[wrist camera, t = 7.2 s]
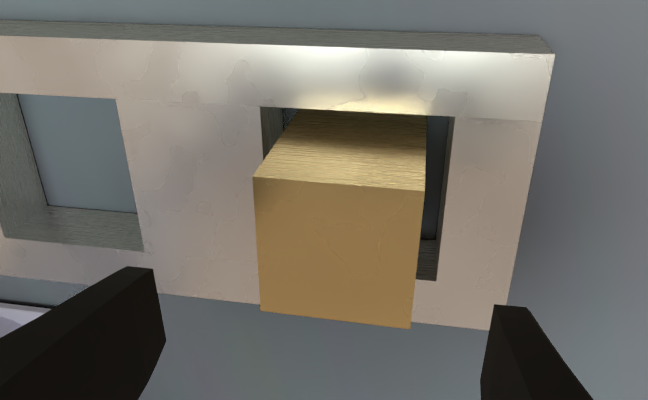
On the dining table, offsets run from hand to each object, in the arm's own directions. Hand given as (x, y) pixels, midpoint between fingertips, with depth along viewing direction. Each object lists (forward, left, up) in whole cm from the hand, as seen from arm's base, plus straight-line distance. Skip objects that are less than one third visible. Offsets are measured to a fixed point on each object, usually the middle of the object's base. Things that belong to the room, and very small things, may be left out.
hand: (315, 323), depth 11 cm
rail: (0, +5, -8) cm, 10 cm away
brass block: (0, 0, -8) cm, 8 cm away
